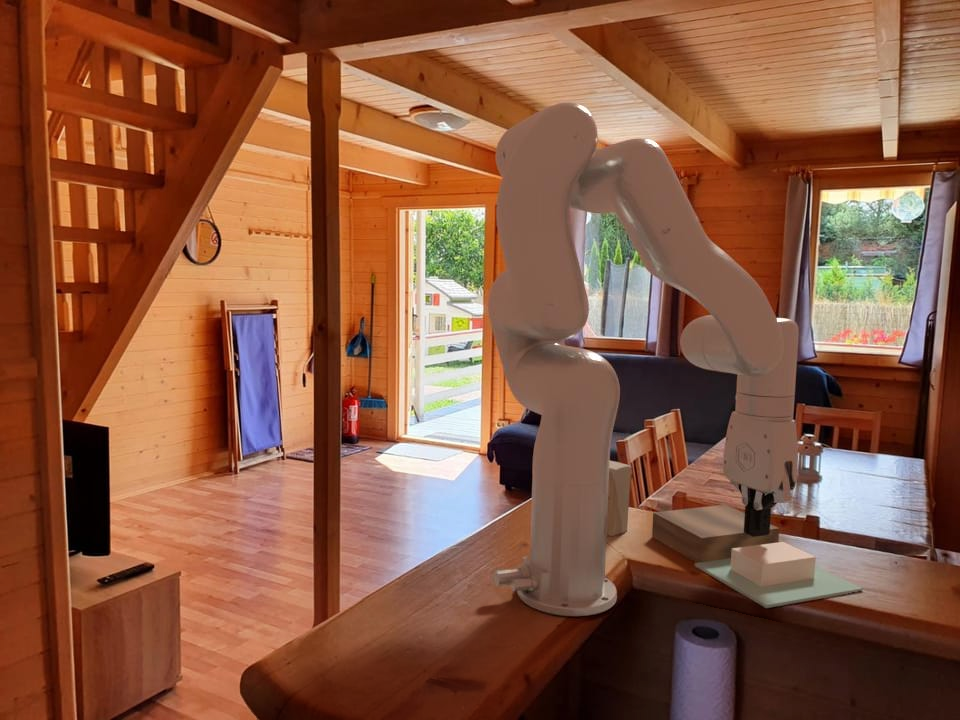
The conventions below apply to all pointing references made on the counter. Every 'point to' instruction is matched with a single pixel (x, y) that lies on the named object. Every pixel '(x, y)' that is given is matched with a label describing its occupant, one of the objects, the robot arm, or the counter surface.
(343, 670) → the counter surface
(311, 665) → the counter surface
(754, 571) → the beige rectangular block
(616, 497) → the box
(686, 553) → the plate
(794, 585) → the mat
